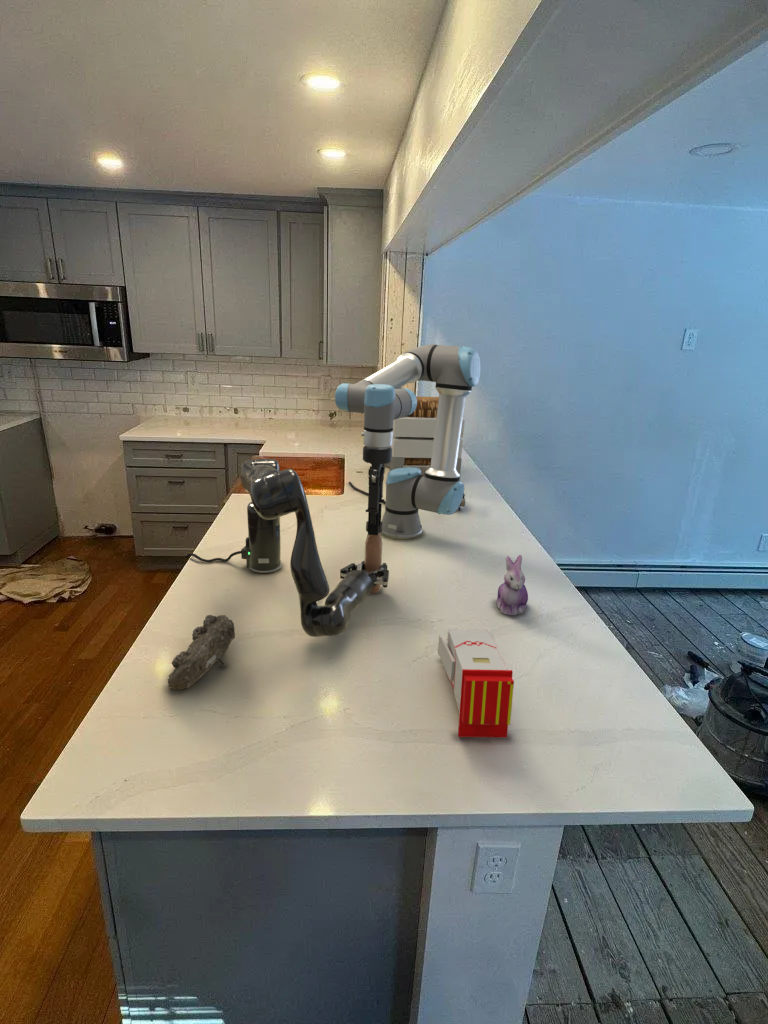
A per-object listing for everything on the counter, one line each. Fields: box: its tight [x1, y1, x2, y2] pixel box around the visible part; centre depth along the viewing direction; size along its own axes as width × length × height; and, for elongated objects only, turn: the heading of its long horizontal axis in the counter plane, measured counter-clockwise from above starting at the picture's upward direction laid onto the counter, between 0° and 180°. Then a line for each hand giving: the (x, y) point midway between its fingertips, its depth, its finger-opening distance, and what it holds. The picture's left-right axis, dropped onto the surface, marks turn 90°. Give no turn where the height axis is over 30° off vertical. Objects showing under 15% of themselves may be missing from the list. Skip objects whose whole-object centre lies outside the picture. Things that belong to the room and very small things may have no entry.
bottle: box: [364, 533, 383, 594], centre depth 156 cm, size 5×5×20 cm
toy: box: [437, 628, 515, 738], centre depth 117 cm, size 12×13×30 cm
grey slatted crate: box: [384, 386, 465, 482], centre depth 268 cm, size 34×33×41 cm
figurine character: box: [457, 493, 466, 511], centre depth 229 cm, size 7×8×15 cm
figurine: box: [496, 554, 529, 616], centre depth 150 cm, size 9×10×15 cm
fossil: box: [167, 614, 236, 691], centre depth 122 cm, size 22×10×15 cm
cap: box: [365, 520, 383, 533], centre depth 153 cm, size 5×4×2 cm
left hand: (376, 564), depth 160 cm, fingers closed on bottle, 4 cm apart
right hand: (374, 529), depth 154 cm, fingers open, 6 cm apart
